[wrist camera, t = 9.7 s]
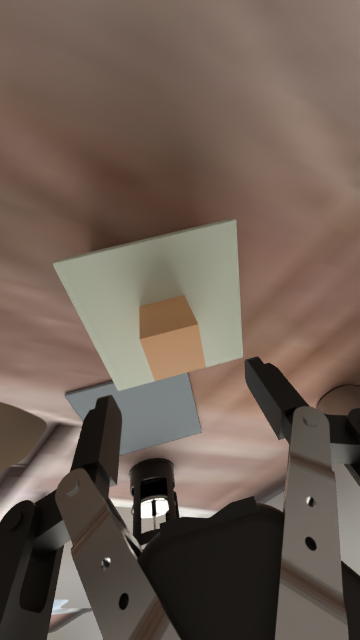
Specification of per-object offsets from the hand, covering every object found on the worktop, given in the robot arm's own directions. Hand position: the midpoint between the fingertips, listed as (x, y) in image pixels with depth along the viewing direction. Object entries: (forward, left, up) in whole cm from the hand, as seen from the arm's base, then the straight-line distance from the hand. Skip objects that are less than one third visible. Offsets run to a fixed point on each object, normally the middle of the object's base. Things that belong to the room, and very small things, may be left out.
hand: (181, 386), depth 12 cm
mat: (+8, +21, -15) cm, 27 cm away
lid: (0, 0, -9) cm, 9 cm away
